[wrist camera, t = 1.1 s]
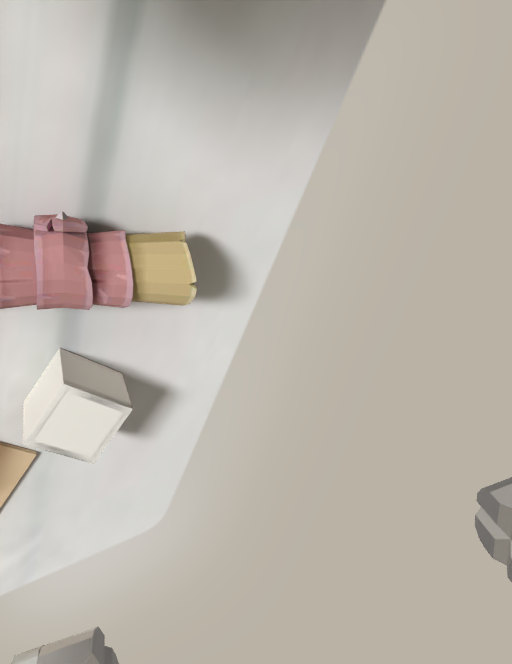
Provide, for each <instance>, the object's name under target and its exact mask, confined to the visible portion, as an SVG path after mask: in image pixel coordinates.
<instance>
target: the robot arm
mask: <svg viewBox="0 0 512 664" xmlns="http://www.w3.org/2000/svg"><path fill="white" fill-rule="evenodd" d="M477 502H478V503H479V504H480V506H481V508H480V509H479V511H478V512H477V513H476V515H475V527H476V530H477V533H478V536H479V538H480V541H481V542H482V544H483V546H484V547H485V549H486V550H487V551H488V553H489V554H490V555H491V557H492V558H493V559H495V560H497V561H499V562H501V563H503V564H505V565H507V575H508V578H509V579H510V581H511V582H512V477H511V478H509V479H506V480H503V481H501V482H498V483H496V484H493V485H490V486H488V487H485V488H482V489H481V490H480V491H479V492H478V493H477ZM11 664H119V663H118V660H117V657H116V654H115V653H114V651H113V649H112V648H110V647H107V646H104V634H103V633H102V631H101V630H100V628H99V627H96V628H93V629H90V630H87V631H84V632H81V633H78V634H76V635H73V636H70V637H67V638H64V639H61V640H58V641H56V642H53V643H50V644H47V645H43V646H40V647H37V648H35V649H32V650H29V651H26V652H24V653H21V654H18V655H15V656H14V658H13V660H12V663H11Z"/></svg>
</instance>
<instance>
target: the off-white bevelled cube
mask: <svg viewBox="0 0 512 664" xmlns="http://www.w3.org/2000/svg"><path fill="white" fill-rule="evenodd" d="M132 410H133V409H132V405H131V402H130V399H129V395H128V392H127V389H126V385H125V382H124V379H123V375H122V373H120V372H117V371H115V370H112V369H110V368H108V367H105V366H103V365H100V364H98V363H95V362H93V361H90V360H88V359H86V358H83V357H81V356H78V355H76V354H73V353H71V352H68V351H66V350H64V349H61V348H59V349H58V351H57V352H56V354H55V355H54V357H53V358H52V360H51V361H50V363H49V364H48V366H47V367H46V369H45V370H44V372H43V374H42V375H41V377H40V378H39V380H38V381H37V383H36V384H35V386H34V387H33V389H32V390H31V392H30V393H29V395H28V396H27V398H26V399H25V401H24V402H23V444H24V445H28V446H31V447H35V448H38V449H42V450H46V451H49V452H53V453H56V454H60V455H64V456H67V457H71V458H74V459H78V460H82V461H85V462H89V463H92V464H94V463H95V461H96V460H97V459H98V457H99V456H100V454H101V453H102V452H103V450H104V449H105V447H106V446H107V445H108V443H109V442H110V440H111V439H112V438H113V436H114V435H115V433H116V432H117V431H118V429H119V428H120V426H121V425H122V424H123V422H124V421H125V419H126V418H127V417H128V415H129V414H130V412H131V411H132Z"/></svg>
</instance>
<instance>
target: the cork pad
mask: <svg viewBox="0 0 512 664" xmlns="http://www.w3.org/2000/svg"><path fill="white" fill-rule="evenodd" d="M36 455H37V454H36V451H33V450H29V449H25V448H22V447H18V446H14V445H11V444H7V443H3V442H0V508H1V506H2V505H3V503H4V502H5V500H6V499H7V497H8V496H9V494H10V493H11V491H12V490H13V489H14V487H15V486H16V484H17V483H18V481H19V480H20V478H21V477H22V475H23V474H24V472H25V471H26V470H27V468H28V467H29V465H30V464H31V462H32V461H33V459H34V458H35V456H36Z"/></svg>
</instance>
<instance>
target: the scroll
mask: <svg viewBox="0 0 512 664" xmlns="http://www.w3.org/2000/svg"><path fill="white" fill-rule="evenodd" d="M87 229H88V226H87V225H86V223H85V222H84V221H83V220H81V219H77V218H73V217H69V216H66V214H65V213H64V212H63V211H61V212H60V213H59V214H58V215H38V216H35V217H34V230H32V229H26V228H21V227H15V226H10V225H4V224H0V309H4V308H12V307H20V306H28V305H36V304H37V310H38V309H51V308H74V309H85V310H89V309H90V308H91V307H92V304H94V305H103V306H112V307H121V308H125V307H128V306H129V305H130V303H131V301H139V302H150V303H161V304H171V305H187V304H190V303H191V301H192V300H193V299H194V297H195V295H196V291H197V286H195V285H194V282H196V281H197V280H196V276H195V271H194V267H193V263H192V259H191V255H190V252H189V249H188V246H187V243H185V236H186V235H185V231H184V232H165V233H146V234H126V235H125V230H120V231H108V232H96V233H86V231H87Z"/></svg>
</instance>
